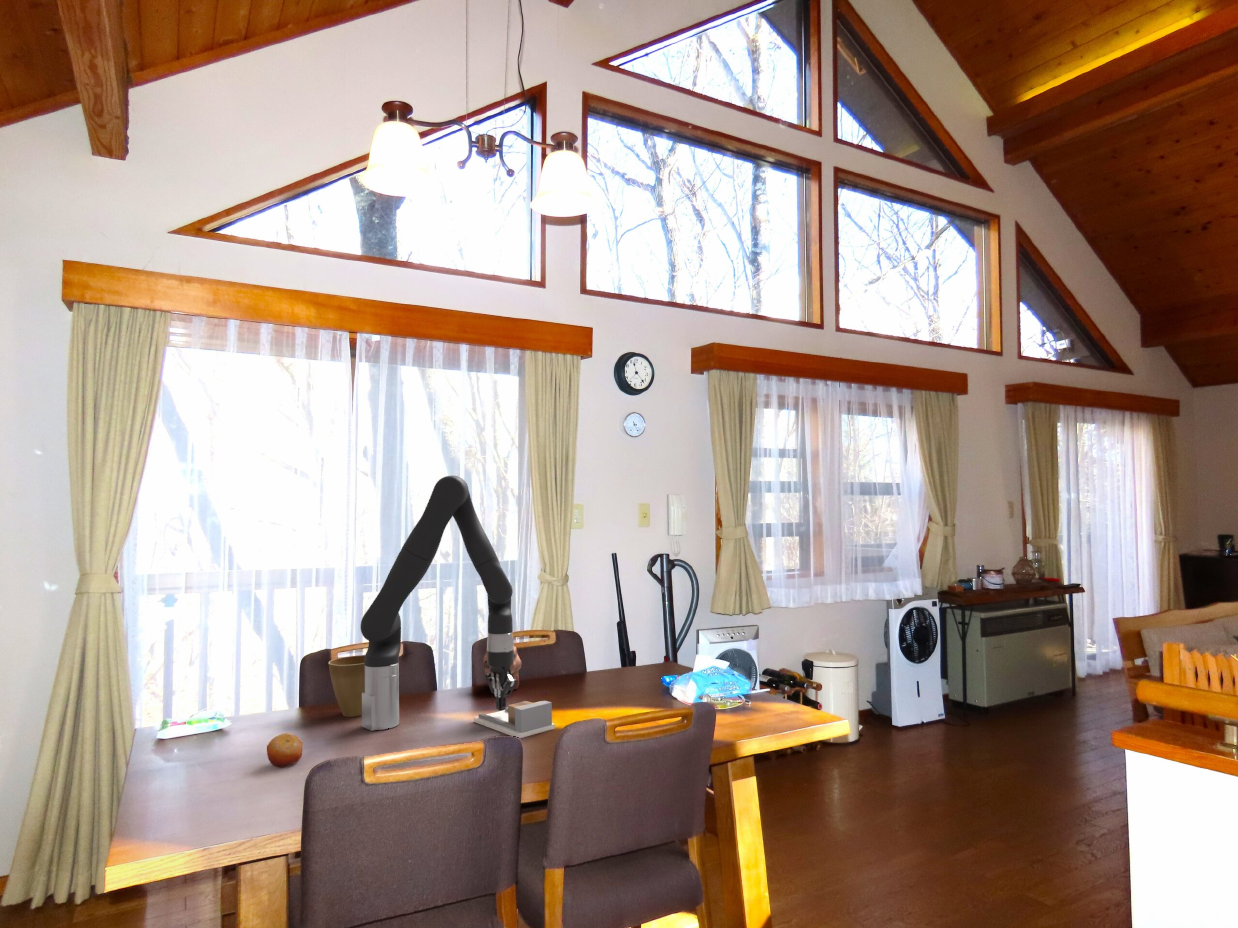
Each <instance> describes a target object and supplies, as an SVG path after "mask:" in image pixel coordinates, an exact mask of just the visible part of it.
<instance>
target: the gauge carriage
mask: <svg viewBox="0 0 1238 928" xmlns="http://www.w3.org/2000/svg"><path fill="white" fill-rule="evenodd" d="M541 701H542V700H540V701H537V702H541ZM537 702H531V701H527V700H523V701H519V702H516V703H512V704H508V705H507V707H508V722H509V723H512V724H514V725H515V708H516V707H520V706H525V705H529V704H533V703H537Z"/></svg>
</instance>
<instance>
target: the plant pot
mask: <svg viewBox="0 0 1238 928" xmlns="http://www.w3.org/2000/svg"><path fill="white" fill-rule="evenodd" d="M364 658H365V654H364V655H363V654H362V655H351V656H345V657H344V656H343V657H339V658H338V657H337V658H335V659H331V660H329V661H328V669H329V674H330V675H329V676H330V680H331V683H332V684H331V685H332V688H333V691H334V695H335V698H336V701H337V703H338V707H339V709H340V712H341V714H342V716H344V717H347V718H348V717H349V718H350V717H352V718H353V717H362V692H365V665H364Z"/></svg>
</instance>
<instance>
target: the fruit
mask: <svg viewBox="0 0 1238 928" xmlns="http://www.w3.org/2000/svg"><path fill="white" fill-rule="evenodd" d="M303 748H304V747H303V741H302V740H301V739H300V738H299V736H297V735H293V734H291V733H281V734H279V735H277V736H275V737H274V738H272V739H271V740H270V741H269V742H268V744H267V745H266V754H267V759H268V761H269V762H270V763H269V764H270V765H273V766H274V767H277V768H278V769H281V768H285V767H288V766H291V765H294V764H297V762H299V761H300V759H302V756H303V751H304V750H303Z"/></svg>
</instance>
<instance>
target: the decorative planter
mask: <svg viewBox="0 0 1238 928" xmlns="http://www.w3.org/2000/svg"><path fill="white" fill-rule="evenodd" d="M482 667H483V671H484V673H485V675H486V674H489V673H490V668H491V667H490V666H488V665H487V648H486V651H485V654H484V656H483V658H482ZM521 668H522V659H520V656H519V654H518V649H517V647H516V646H515V645H514V664H513V665H511V667H510V669H511V677H512V678H513V679H516V681H517V682H516V685H515V687H514V689H513V690H516V689H518V688H519V685H520V677H519V671H520V669H521Z"/></svg>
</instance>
